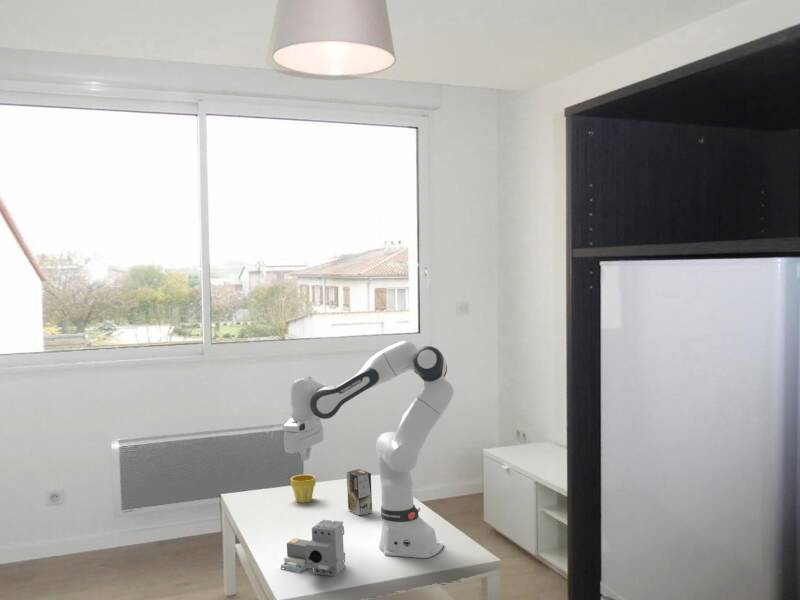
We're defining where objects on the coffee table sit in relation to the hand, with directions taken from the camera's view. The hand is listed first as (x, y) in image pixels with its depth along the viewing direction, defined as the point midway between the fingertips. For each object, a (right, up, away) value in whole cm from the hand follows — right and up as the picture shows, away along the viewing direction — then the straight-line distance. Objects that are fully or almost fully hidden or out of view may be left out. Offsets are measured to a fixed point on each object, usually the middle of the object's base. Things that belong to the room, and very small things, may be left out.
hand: (305, 459), depth 267 cm
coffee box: (+18, -27, +28) cm, 44 cm away
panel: (+2, -30, -20) cm, 36 cm away
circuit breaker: (+10, -30, -30) cm, 44 cm away
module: (+1, -29, -21) cm, 36 cm away
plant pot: (-7, -27, +46) cm, 54 cm away
